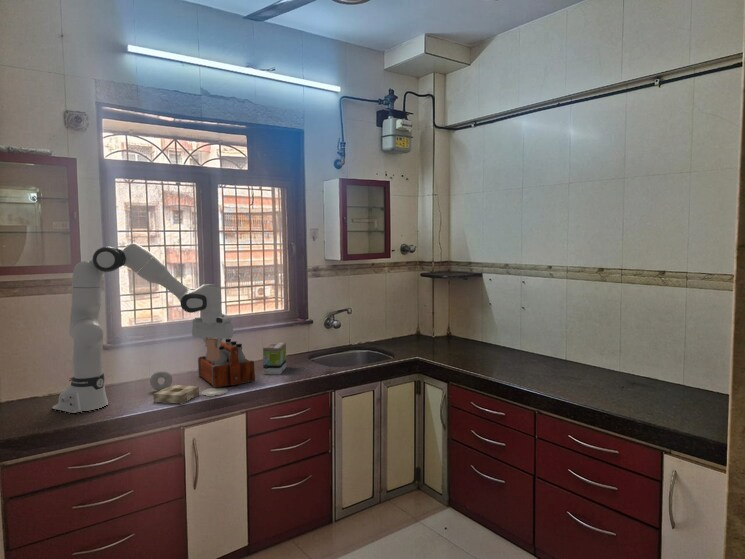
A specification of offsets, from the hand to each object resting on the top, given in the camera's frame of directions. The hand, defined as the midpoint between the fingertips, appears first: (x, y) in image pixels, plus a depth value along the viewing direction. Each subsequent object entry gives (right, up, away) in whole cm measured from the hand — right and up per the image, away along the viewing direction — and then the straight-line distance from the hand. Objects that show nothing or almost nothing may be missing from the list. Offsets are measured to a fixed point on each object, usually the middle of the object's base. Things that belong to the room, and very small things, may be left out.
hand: (212, 346), depth 238 cm
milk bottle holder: (-1, -20, +25) cm, 32 cm away
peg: (0, -6, +1) cm, 6 cm away
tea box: (+22, -19, +41) cm, 50 cm away
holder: (-14, -23, -7) cm, 28 cm away
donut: (-27, -22, +6) cm, 35 cm away
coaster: (0, -22, +2) cm, 22 cm away
